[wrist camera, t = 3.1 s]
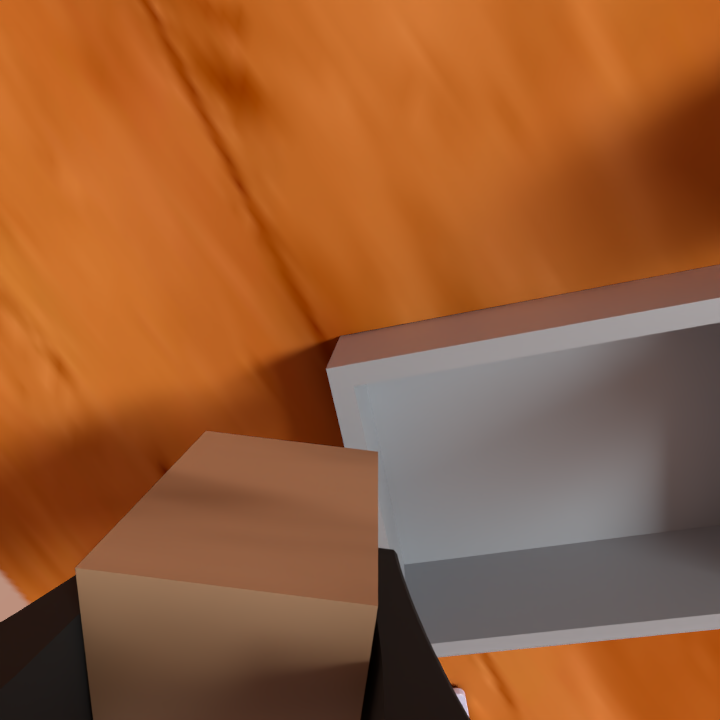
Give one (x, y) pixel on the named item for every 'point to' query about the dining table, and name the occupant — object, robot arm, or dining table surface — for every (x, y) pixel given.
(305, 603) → the walnut cube
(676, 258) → the dining table surface
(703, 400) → the tote
